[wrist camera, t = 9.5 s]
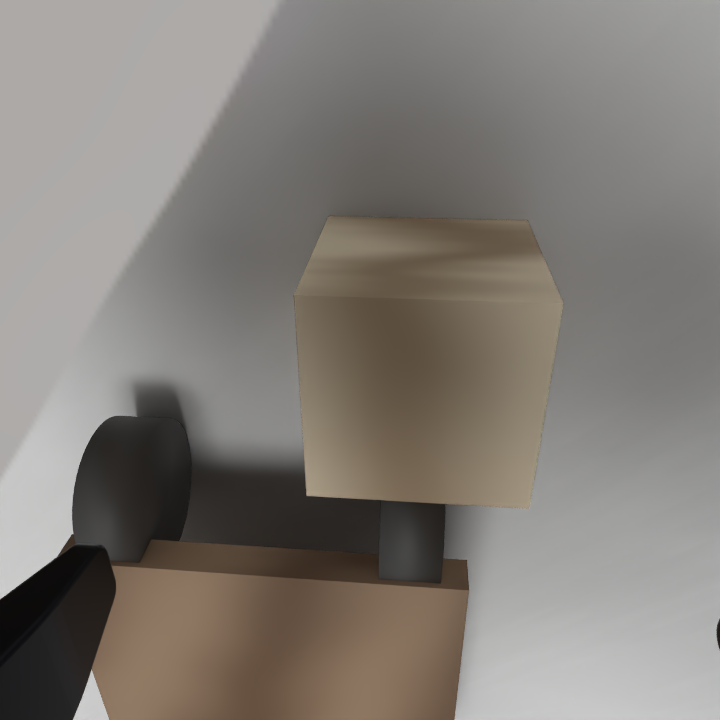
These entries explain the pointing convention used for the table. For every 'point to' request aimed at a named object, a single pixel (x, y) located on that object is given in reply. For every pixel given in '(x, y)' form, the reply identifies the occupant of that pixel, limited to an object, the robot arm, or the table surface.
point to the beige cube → (425, 359)
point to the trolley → (260, 603)
